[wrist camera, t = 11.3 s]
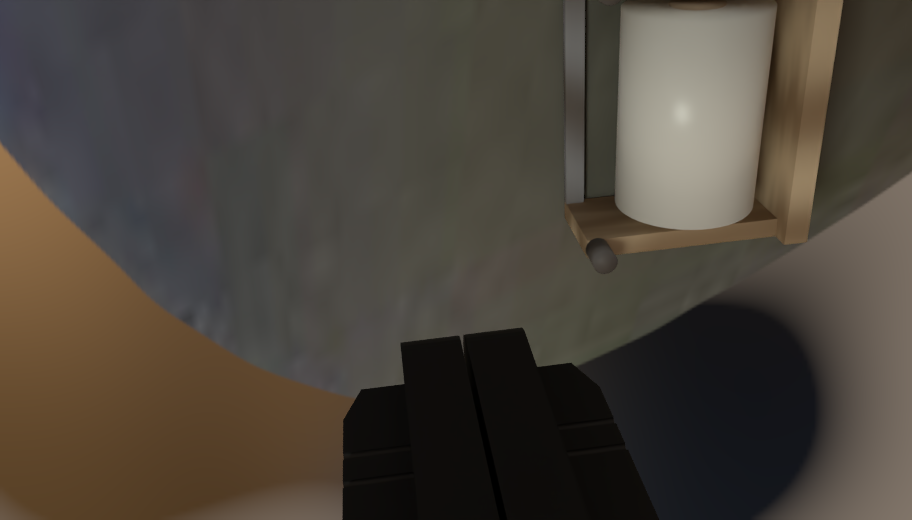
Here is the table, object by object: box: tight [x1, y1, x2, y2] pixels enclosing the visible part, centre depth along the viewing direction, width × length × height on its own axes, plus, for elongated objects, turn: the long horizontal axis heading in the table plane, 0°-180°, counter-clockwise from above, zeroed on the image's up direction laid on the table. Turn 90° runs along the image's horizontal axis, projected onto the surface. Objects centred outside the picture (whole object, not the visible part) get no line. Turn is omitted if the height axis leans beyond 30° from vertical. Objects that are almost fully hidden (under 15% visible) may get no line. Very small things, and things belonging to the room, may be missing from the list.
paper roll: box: [615, 0, 777, 230], centre depth 41 cm, size 10×7×7 cm
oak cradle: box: [563, 0, 843, 274], centre depth 41 cm, size 14×11×7 cm
